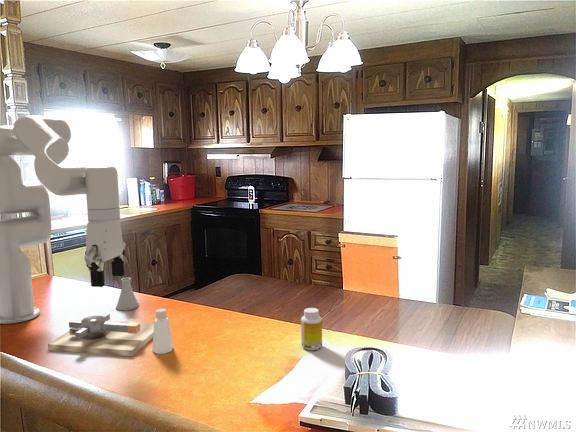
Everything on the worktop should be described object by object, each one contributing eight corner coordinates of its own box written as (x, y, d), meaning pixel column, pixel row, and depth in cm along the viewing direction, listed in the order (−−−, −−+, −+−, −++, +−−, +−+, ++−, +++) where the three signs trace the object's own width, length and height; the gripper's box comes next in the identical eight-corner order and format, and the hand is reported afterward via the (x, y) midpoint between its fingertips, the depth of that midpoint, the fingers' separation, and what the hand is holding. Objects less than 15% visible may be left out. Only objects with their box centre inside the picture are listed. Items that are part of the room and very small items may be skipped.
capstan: (54, 343, 118) (53, 327, 117) (86, 323, 131) (85, 309, 131) (125, 348, 115) (124, 332, 114) (150, 327, 128) (149, 313, 128)
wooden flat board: (48, 349, 118) (47, 339, 118) (88, 324, 136) (87, 314, 135) (132, 356, 115) (131, 345, 114) (162, 329, 132) (162, 319, 132)
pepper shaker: (154, 355, 115) (152, 315, 113) (150, 347, 120) (148, 308, 118) (175, 351, 117) (173, 311, 116) (170, 343, 122) (169, 305, 120)
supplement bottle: (326, 348, 119) (325, 311, 118) (307, 352, 116) (307, 314, 115) (315, 341, 124) (315, 305, 123) (298, 345, 121) (297, 308, 120)
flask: (131, 311, 147) (129, 282, 145) (111, 310, 148) (109, 281, 147) (142, 304, 154) (141, 276, 152) (123, 303, 155) (122, 275, 154)
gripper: (108, 210, 121) (112, 271, 124) (69, 219, 104) (74, 290, 107) (134, 211, 120) (138, 272, 123) (98, 220, 103) (103, 291, 106)
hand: (108, 280), depth 115 cm, fingers open, 9 cm apart
